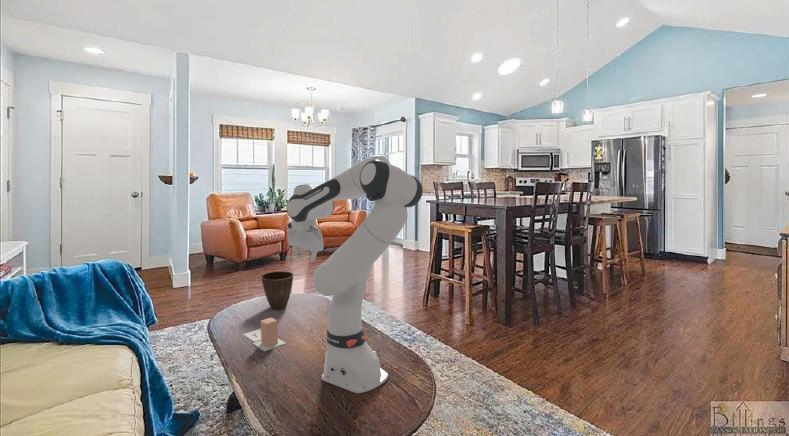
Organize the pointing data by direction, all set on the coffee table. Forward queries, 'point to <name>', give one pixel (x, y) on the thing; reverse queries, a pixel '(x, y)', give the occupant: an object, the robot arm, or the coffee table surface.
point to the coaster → (268, 346)
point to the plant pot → (277, 288)
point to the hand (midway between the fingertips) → (305, 259)
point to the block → (269, 332)
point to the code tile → (254, 335)
